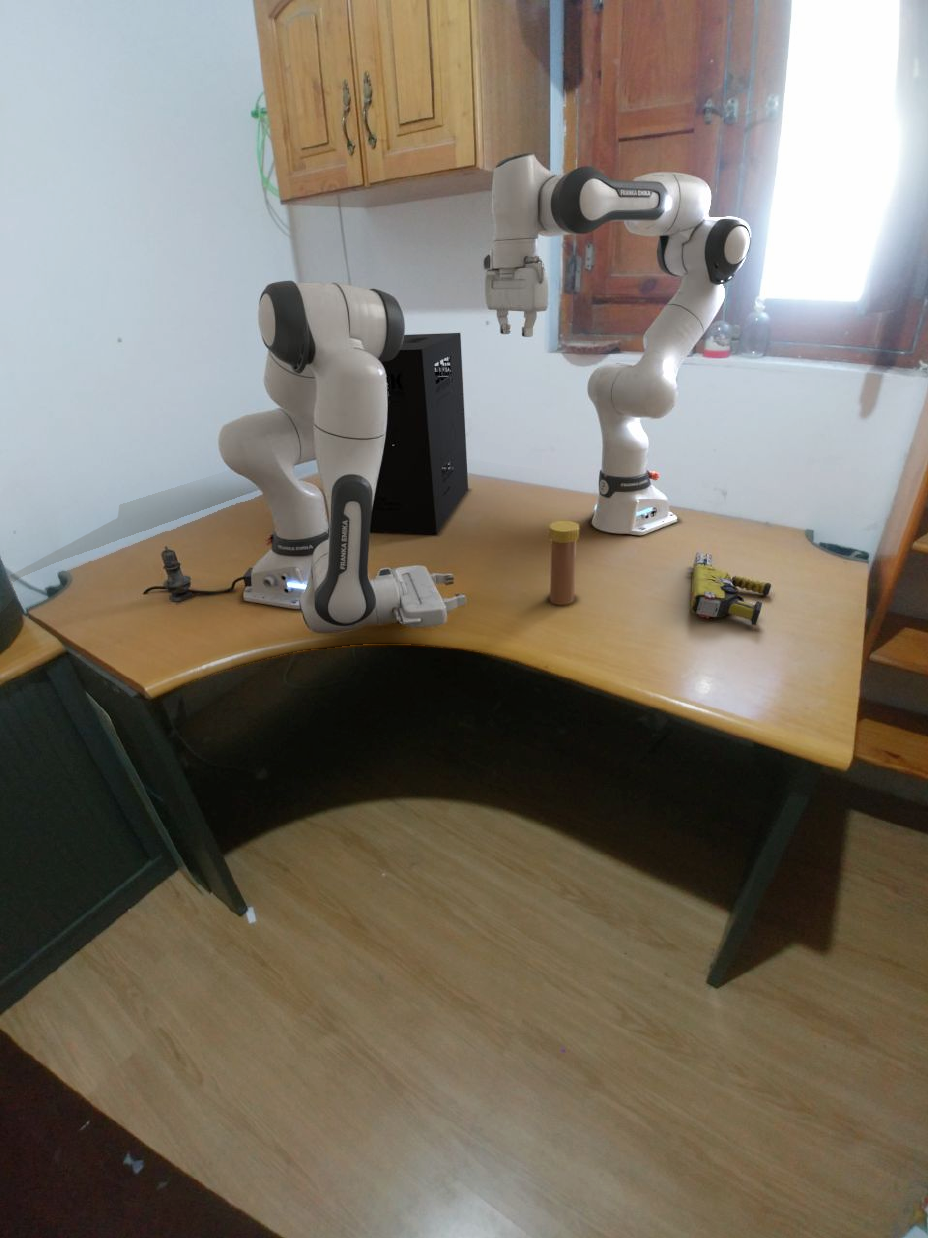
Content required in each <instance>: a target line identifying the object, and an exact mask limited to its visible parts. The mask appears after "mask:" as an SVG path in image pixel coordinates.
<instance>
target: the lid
mask: <svg viewBox="0 0 928 1238" xmlns="http://www.w3.org/2000/svg"><path fill="white" fill-rule="evenodd" d="M548 538H549V539H550V541H551V540H552V541H555V542H560V543H568V542H573V541H576V542H577V540H578V539H579V538H580V525H579V524H578V523H577V522H575V521H570V520H557V521H554V522H552V523H550V524H549V528H548Z"/></svg>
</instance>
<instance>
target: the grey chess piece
mask: <svg viewBox="0 0 928 1238" xmlns="http://www.w3.org/2000/svg"><path fill="white" fill-rule="evenodd" d="M160 556H161V559H162V562H163V567H162V568H163V570H165V572H166V575H167V579H166V580H165V581H164V582H163V583H162V586H164V587H165V588H166V589H167V590H166V591H167V592H168V593H170V595H169V596H168V599H169V601H172V602H180V601H185V600H187V599H190V598H192V597H193V596H194V595H195V594H194V593H192V592H189V591H187V590H190V588H191V585H192V582H191V581H192V577H191V576H189V575H184V573H183V571H182V569H181V566H182V563H181V562H179V559H178V557H177V554H176V551H175V550H173V549H169V547H168V546H165V547H164V550H163V551H162V552H161V553H160Z"/></svg>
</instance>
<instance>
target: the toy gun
mask: <svg viewBox="0 0 928 1238" xmlns="http://www.w3.org/2000/svg"><path fill="white" fill-rule="evenodd" d="M703 553H704V552H702V551H698V552H696V553H695V557H694V560H693V565H692V566H693V568H692V570H693V571H692V576H691V599H690V601H691V602H690V603H691V604H690V610H691V612H692V614H697V615H699V617H700V618H705V619H710V617H712V618H722V617H724V616H726V615H727V614H729V615H732V616H737V617H740V618H743V619H746V620H748V621H751V625H752V626H756V625H757V623H758V619H759V616H760V613H761V610H762V606H763V602H762V601H759V600H756V601H755V603H754V604H753V603H749V602H746V601H745V600H744V597H743V596H741V595H739V593H740V592H739V588H740V589H741V590H743V589H745V590H746V591H752V592H754V593H758V594H761V595H763V596H768V595H769V594H770V591H771V588H772V584H771V583H770V582H764V581H762V582H761V581H760V580H754V579H752V578H747V577H746V576H743V577H741V576H740V575H736V574H735V575H734V576H732V577H731V576H730V574H729V573H728V571H724V570H721V569H717V568H715V567H714V566H713V556H712V554H711V553H708V552H706V554H705V555H704V554H703Z"/></svg>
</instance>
